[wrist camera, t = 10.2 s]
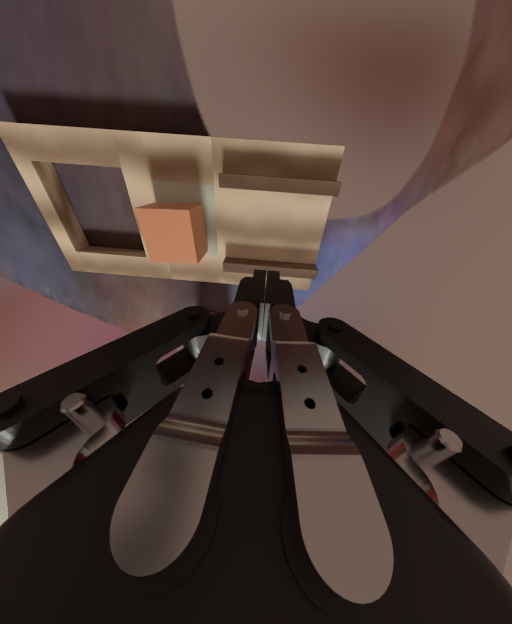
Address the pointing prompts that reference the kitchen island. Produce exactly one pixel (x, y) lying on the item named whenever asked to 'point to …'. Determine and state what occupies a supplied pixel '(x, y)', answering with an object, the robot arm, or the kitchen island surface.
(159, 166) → the wooden fixture board
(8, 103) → the kitchen island surface
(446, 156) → the kitchen island surface
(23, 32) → the kitchen island surface
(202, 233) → the block
